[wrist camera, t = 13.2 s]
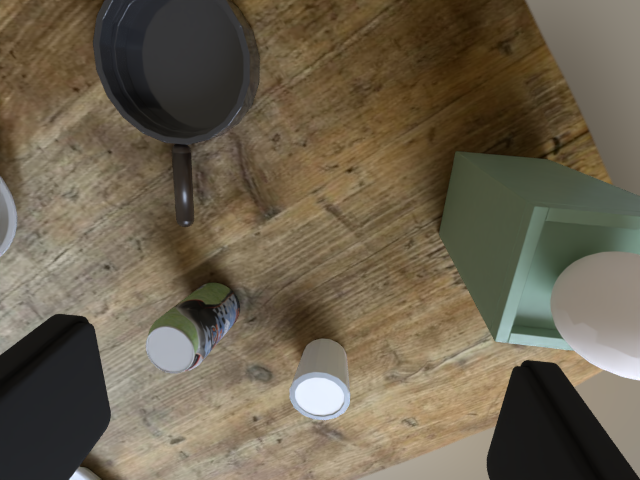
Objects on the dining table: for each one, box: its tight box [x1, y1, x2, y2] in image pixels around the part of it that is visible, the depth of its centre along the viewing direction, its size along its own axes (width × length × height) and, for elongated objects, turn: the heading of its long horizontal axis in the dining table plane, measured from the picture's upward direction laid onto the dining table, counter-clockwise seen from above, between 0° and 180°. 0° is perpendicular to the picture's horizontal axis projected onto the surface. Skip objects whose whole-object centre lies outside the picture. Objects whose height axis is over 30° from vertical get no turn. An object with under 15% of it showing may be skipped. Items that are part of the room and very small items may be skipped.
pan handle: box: [172, 144, 194, 227], centre depth 40 cm, size 9×2×2 cm, turn 176°
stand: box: [439, 151, 640, 351], centre depth 32 cm, size 9×9×19 cm
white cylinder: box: [290, 339, 350, 420], centre depth 46 cm, size 7×7×7 cm
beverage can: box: [146, 283, 240, 374], centre depth 42 cm, size 6×7×12 cm
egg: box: [550, 251, 640, 380], centre depth 20 cm, size 6×6×8 cm
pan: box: [93, 0, 260, 145], centre depth 36 cm, size 14×14×4 cm
